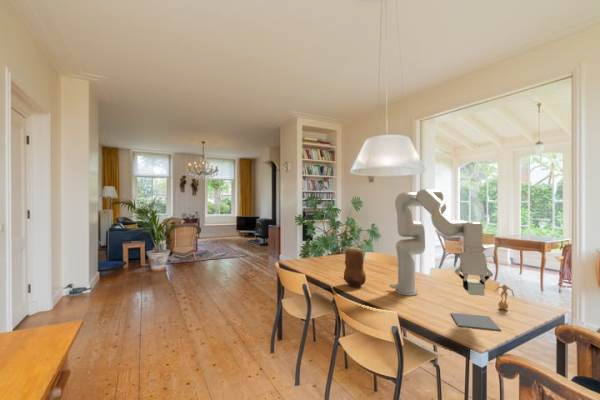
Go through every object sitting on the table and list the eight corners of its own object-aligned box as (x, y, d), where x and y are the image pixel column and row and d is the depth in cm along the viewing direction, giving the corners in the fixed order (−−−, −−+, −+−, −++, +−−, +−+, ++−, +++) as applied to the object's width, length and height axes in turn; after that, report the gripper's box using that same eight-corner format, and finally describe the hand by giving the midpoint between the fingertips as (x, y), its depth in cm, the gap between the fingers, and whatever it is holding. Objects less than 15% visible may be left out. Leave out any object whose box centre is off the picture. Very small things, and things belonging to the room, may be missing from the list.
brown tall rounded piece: (362, 282, 188) (362, 245, 188) (368, 289, 174) (367, 248, 174) (342, 283, 187) (341, 245, 187) (346, 289, 174) (345, 249, 174)
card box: (463, 288, 131) (463, 278, 131) (477, 289, 130) (477, 279, 130) (470, 294, 122) (469, 284, 122) (484, 295, 121) (484, 285, 121)
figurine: (492, 307, 142) (491, 284, 142) (497, 305, 146) (496, 281, 146) (511, 312, 136) (511, 288, 136) (516, 309, 139) (515, 285, 139)
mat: (458, 326, 122) (458, 325, 122) (450, 313, 135) (450, 312, 135) (500, 331, 117) (500, 329, 117) (488, 317, 130) (488, 316, 130)
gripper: (492, 248, 127) (492, 288, 127) (450, 247, 132) (450, 285, 132) (498, 251, 120) (499, 294, 120) (453, 250, 125) (454, 290, 125)
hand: (473, 289), depth 126 cm, fingers closed on card box, 5 cm apart
